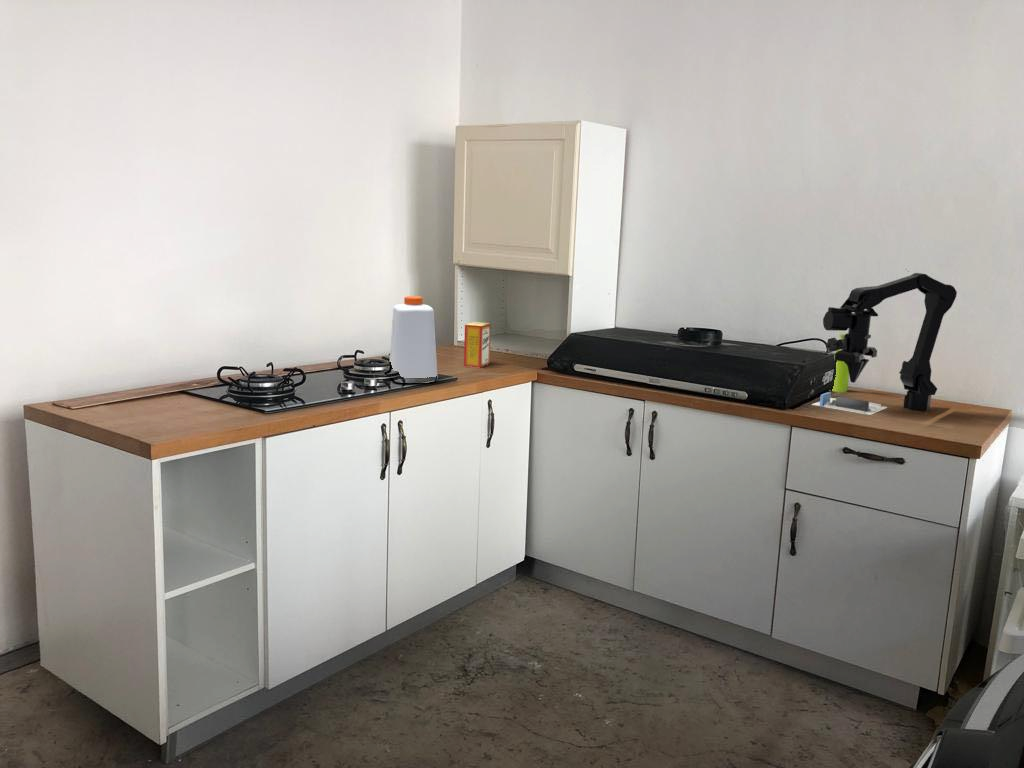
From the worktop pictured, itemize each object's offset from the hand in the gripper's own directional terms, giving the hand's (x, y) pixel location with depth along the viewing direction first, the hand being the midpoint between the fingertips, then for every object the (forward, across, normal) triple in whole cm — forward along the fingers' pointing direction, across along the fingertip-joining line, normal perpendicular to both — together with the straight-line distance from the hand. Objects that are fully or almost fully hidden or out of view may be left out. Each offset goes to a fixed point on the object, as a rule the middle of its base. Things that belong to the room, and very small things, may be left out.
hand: (852, 382), depth 258 cm
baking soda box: (+10, +32, -127) cm, 131 cm away
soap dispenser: (+10, -27, -14) cm, 32 cm away
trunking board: (+9, -5, -2) cm, 11 cm away
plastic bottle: (+10, +69, -121) cm, 139 cm away
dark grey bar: (+8, 0, 0) cm, 8 cm away
